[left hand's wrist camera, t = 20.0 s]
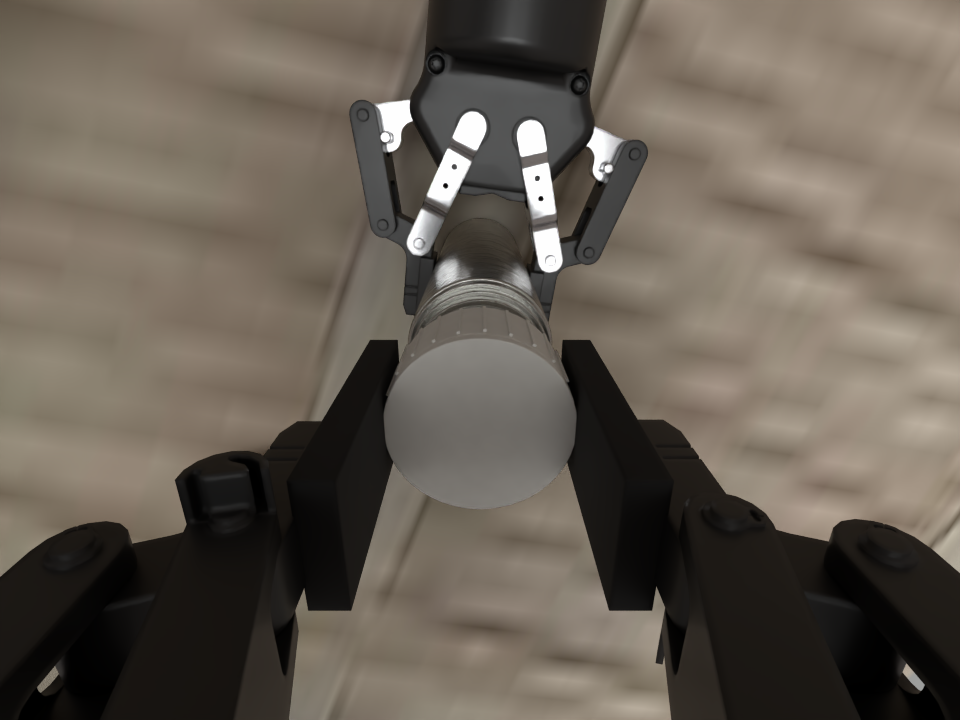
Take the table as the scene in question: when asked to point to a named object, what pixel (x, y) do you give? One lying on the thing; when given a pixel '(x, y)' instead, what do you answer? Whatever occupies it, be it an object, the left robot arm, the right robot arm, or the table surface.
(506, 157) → the right robot arm
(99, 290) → the table surface
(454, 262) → the bottle
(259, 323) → the table surface
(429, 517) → the table surface
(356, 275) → the table surface
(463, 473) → the cap
